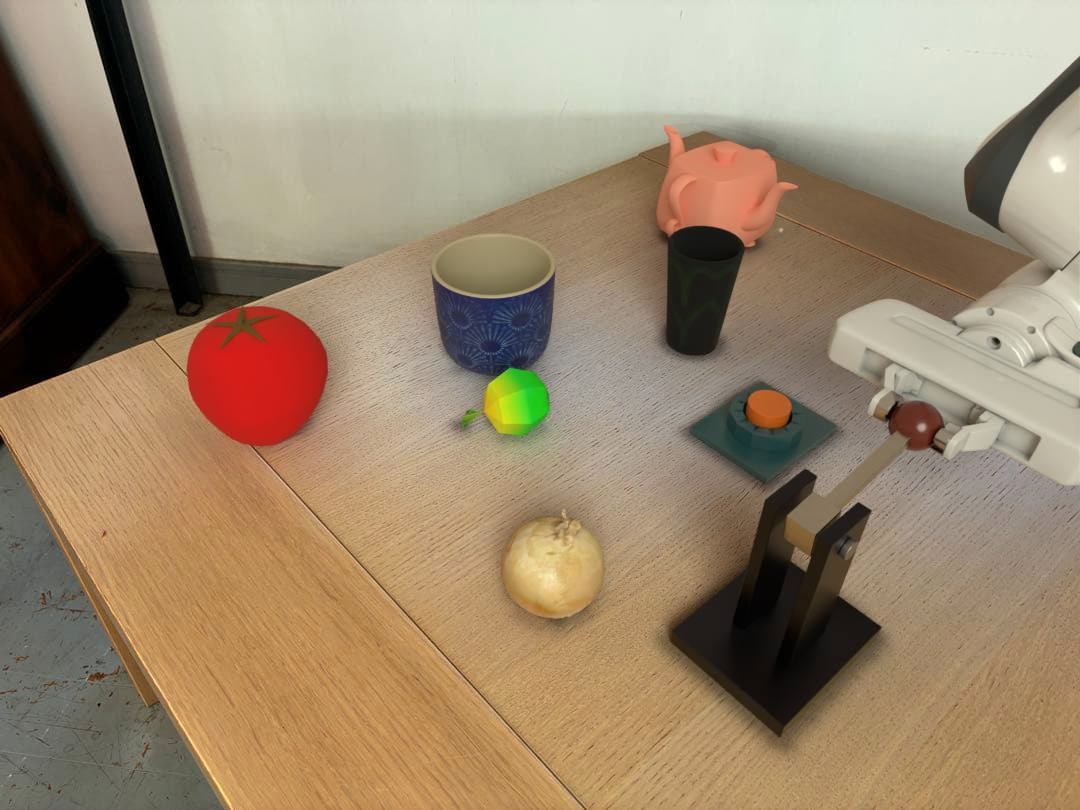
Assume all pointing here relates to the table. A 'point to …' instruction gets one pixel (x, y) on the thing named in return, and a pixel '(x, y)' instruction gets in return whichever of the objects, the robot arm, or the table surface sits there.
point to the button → (768, 409)
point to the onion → (553, 566)
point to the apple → (514, 402)
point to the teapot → (719, 189)
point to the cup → (700, 286)
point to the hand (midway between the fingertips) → (909, 429)
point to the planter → (494, 301)
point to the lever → (863, 473)
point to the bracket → (783, 616)
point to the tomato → (257, 374)
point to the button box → (762, 436)
